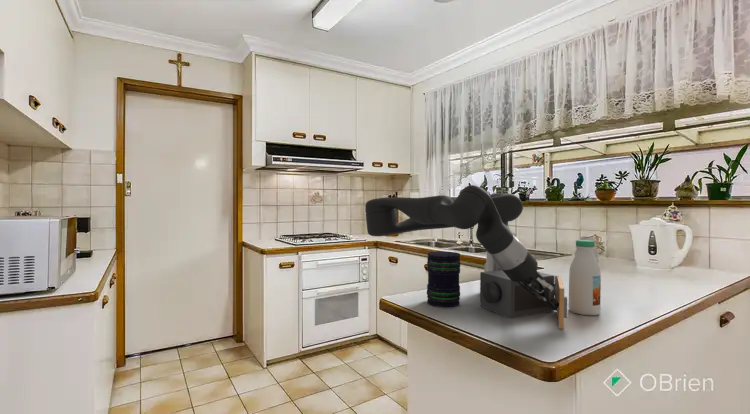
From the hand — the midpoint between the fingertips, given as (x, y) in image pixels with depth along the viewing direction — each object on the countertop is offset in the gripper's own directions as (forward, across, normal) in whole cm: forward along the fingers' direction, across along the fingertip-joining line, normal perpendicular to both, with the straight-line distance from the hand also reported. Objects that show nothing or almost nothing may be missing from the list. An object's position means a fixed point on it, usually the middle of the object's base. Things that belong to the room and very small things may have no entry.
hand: (555, 307), depth 92 cm
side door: (+7, -4, +1) cm, 8 cm away
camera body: (+3, -16, -4) cm, 17 cm away
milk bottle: (+15, -9, +9) cm, 20 cm away
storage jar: (-9, -26, -16) cm, 32 cm away
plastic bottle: (+20, -17, +14) cm, 30 cm away
